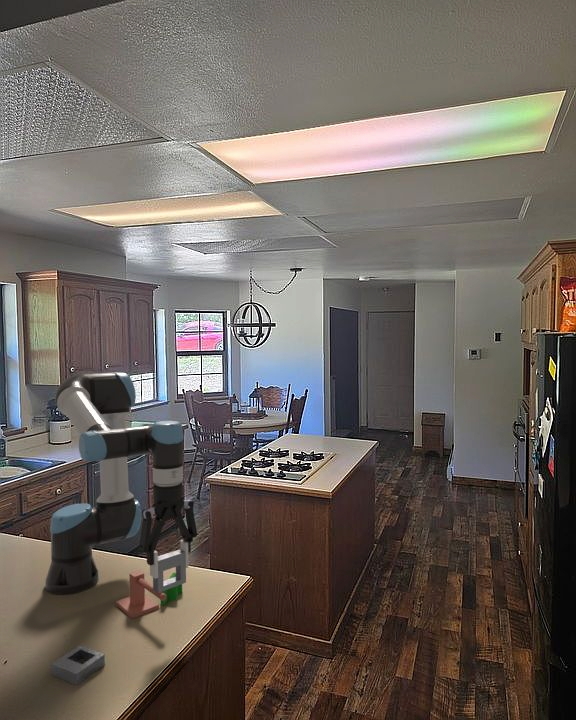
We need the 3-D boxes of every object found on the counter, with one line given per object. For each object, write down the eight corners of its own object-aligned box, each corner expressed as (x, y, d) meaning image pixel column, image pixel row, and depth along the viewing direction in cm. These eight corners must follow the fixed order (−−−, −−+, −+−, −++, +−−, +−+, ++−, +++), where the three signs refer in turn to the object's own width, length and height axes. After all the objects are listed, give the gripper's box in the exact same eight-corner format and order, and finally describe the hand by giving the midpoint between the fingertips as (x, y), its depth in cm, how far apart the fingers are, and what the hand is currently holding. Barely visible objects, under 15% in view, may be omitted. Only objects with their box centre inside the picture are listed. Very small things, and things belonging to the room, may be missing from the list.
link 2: (153, 589, 131) (152, 557, 130) (180, 579, 136) (180, 549, 136) (158, 592, 129) (157, 561, 128) (186, 582, 134) (185, 552, 134)
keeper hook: (116, 604, 147) (115, 571, 147) (142, 595, 153) (141, 563, 152) (151, 634, 132) (150, 597, 132) (178, 622, 138) (178, 587, 137)
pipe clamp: (173, 606, 147) (173, 590, 146) (160, 605, 147) (160, 590, 147) (185, 587, 158) (185, 572, 158) (173, 586, 158) (173, 572, 158)
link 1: (51, 674, 116) (51, 663, 116) (80, 655, 123) (80, 645, 123) (76, 685, 113) (76, 674, 113) (104, 664, 120) (104, 654, 120)
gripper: (136, 494, 122) (138, 589, 122) (211, 478, 136) (212, 563, 137) (122, 487, 127) (124, 579, 128) (195, 472, 141) (196, 555, 142)
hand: (169, 571), depth 132 cm, fingers closed on link 2, 8 cm apart
